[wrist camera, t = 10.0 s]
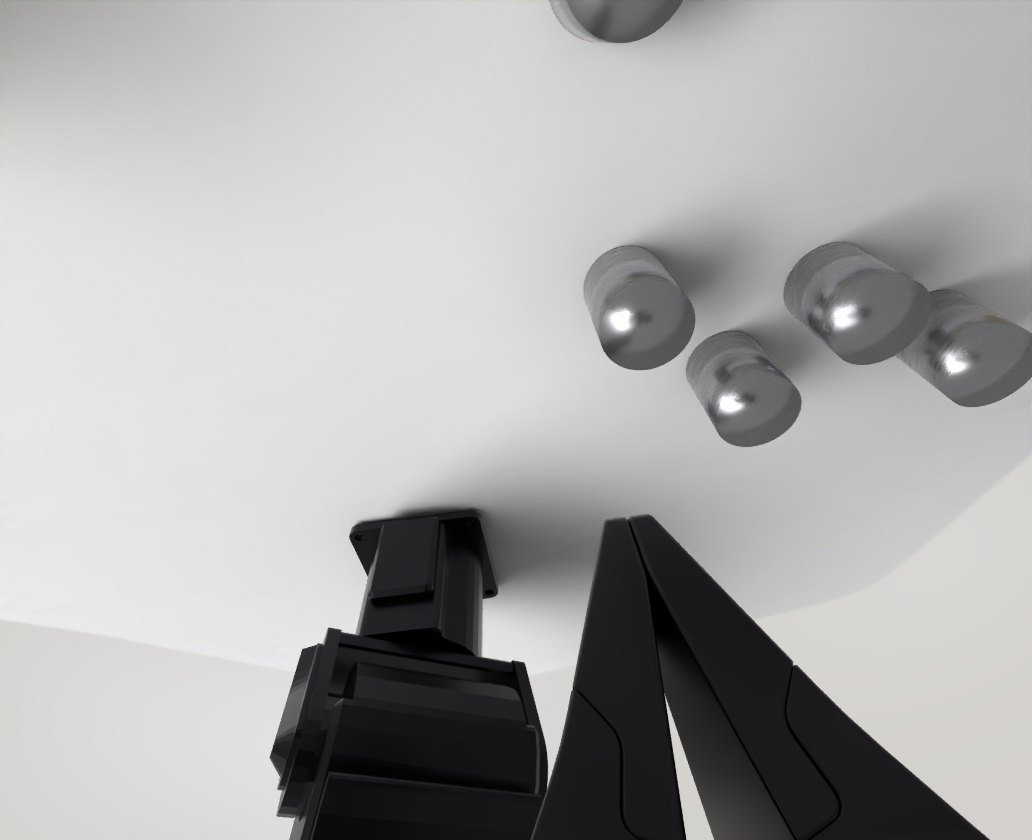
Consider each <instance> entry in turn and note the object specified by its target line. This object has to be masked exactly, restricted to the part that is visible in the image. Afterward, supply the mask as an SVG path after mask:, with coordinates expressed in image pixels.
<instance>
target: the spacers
mask: <svg viewBox="0 0 1032 840" xmlns="http://www.w3.org/2000/svg"><path fill="white" fill-rule="evenodd" d="M682 1H683V0H549V2H550V5H551V7H552V10H553V12H554V14H555V16H556V17H557V19H558V20H559V22H560V23H561V24H562V25H563V27H564V28H565V29H566V30H568V31H569V32H570V33H571V34H573V35H575V36H576V37H578V38H581V39H583V40H587V41H596V42H613V43H627V42H633V41H637V40H640V39H642V38H645V37H647V36H649V35H650V34H652V33H654V32H655V31H656V30H658V29H659V28H660V27H662V26H663V25H664V24H665V23H666V22H667V21H668V20H669V19H670V18H671V17H672V15H673V14H674V13H675V12H676V10H677V9H678V7H679V6H680V4H681V3H682ZM584 298H585V302H586V304H587V307H588V310H589V313H590V315H591V318H592V321H593V323H594V326H595V329H596V332H597V334H598V337H599V340H600V342H601V345H602V348H603V350H604V352H605V353H606V355H607V356H608V357H609V358H610V359H611V360H612V361H613V362H614V363H616V364H617V365H619V366H622V367H624V368H627V369H632V370H647V369H653V368H656V367H659V366H661V365H664V364H666V363H667V362H669V361H671V360H672V359H674V358H675V357H676V356H677V355H678V354H680V352H681V351H682V350H683V349H684V348H685V347H686V345H687V344H688V342H689V340H690V338H691V336H692V334H693V330H694V326H695V314H694V309H693V306H692V304H691V302H690V300H689V299H688V298H687V296H686V295H685V294H684V292H683V291H682V290H681V288H680V287H679V286H678V284H677V283H676V282H675V281H674V279H673V278H672V277H671V275H670V274H669V273H668V271H667V270H666V269H665V267H664V266H663V265H662V264H661V262H660V261H659V260H658V258H657V257H656V256H655V255H654V254H653V253H651V252H650V251H648V250H646V249H644V248H641V247H637V246H622V247H618V248H615V249H612V250H610V251H608V252H606V253H605V254H603V255H602V256H601V257H599V258H598V259H597V260H596V261H595V262H594V264H593V265H592V266H591V268H590V269H589V271H588V273H587V275H586V278H585V282H584ZM784 301H785V304H786V307H787V308H788V310H789V311H790V312H791V313H792V314H793V315H794V316H795V317H796V318H797V319H799V320H800V321H801V322H802V323H803V324H804V325H805V326H806V327H807V328H808V329H809V330H811V331H812V332H813V333H814V334H815V335H816V336H817V337H818V338H819V339H820V340H822V341H823V342H824V343H825V344H826V345H827V346H828V347H829V348H830V349H831V350H832V351H834V352H835V353H836V354H837V355H838V356H839V357H840V358H841V359H843V360H844V361H846V362H849V363H852V364H857V365H866V364H873V363H877V362H881V361H883V360H886V359H888V358H890V357H892V356H894V355H895V356H896V357H897V358H899V359H900V360H901V361H903V362H904V363H905V364H906V365H908V366H909V367H910V368H911V369H913V370H914V371H915V372H916V373H918V374H919V375H920V376H922V377H923V378H924V379H925V380H927V381H928V382H929V383H930V384H932V385H933V386H934V387H936V388H937V389H938V390H939V391H941V392H942V393H943V394H944V395H946V396H947V397H948V398H950V399H951V400H952V401H953V402H955V403H956V404H958V405H961V406H965V407H978V406H984V405H988V404H991V403H994V402H997V401H999V400H1001V399H1003V398H1005V397H1007V396H1009V395H1010V394H1012V393H1014V392H1015V391H1016V390H1018V389H1019V388H1020V387H1022V386H1023V385H1024V384H1025V383H1026V382H1027V381H1028V380H1029V379H1030V378H1031V377H1032V333H1030V332H1029V331H1027V330H1025V329H1023V328H1021V327H1019V326H1018V325H1016V324H1014V323H1012V322H1010V321H1008V320H1007V319H1005V318H1003V317H1001V316H999V315H997V314H996V313H994V312H992V311H990V310H988V309H987V308H985V307H983V306H981V305H979V304H977V303H976V302H974V301H972V300H970V299H968V298H966V297H965V296H963V295H961V294H959V293H957V292H955V291H950V290H940V291H934V292H931V293H929V292H928V291H927V289H926V288H925V287H924V286H923V285H922V284H920V283H918V282H917V281H915V280H913V279H912V278H910V277H908V276H906V275H905V274H903V273H901V272H899V271H898V270H896V269H894V268H892V267H891V266H889V265H887V264H885V263H884V262H882V261H880V260H878V259H877V258H875V257H873V256H871V255H870V254H868V253H866V252H864V251H863V250H861V249H859V248H857V247H856V246H854V245H852V244H849V243H842V242H838V243H830V244H826V245H823V246H821V247H819V248H816V249H815V250H813V251H811V252H810V253H808V254H807V255H806V256H804V257H803V258H802V259H801V260H800V261H799V262H798V263H797V264H796V265H795V267H794V268H793V269H792V271H791V272H790V274H789V276H788V278H787V281H786V283H785V287H784ZM686 376H687V379H688V382H689V383H690V385H691V387H692V389H693V390H694V392H695V394H696V396H697V397H698V399H699V401H700V402H701V404H702V406H703V408H704V409H705V411H706V413H707V415H708V416H709V418H710V420H711V421H712V423H713V425H714V427H715V428H716V430H717V432H718V434H719V435H720V436H721V438H722V439H723V440H725V441H726V442H728V443H730V444H732V445H736V446H741V447H751V446H757V445H761V444H765V443H767V442H770V441H772V440H774V439H776V438H777V437H779V436H780V435H782V434H783V433H784V432H786V431H787V430H788V429H789V428H790V427H791V426H792V424H793V423H794V422H795V420H796V419H797V417H798V415H799V412H800V409H801V396H800V393H799V391H798V390H797V388H796V387H795V386H794V385H793V384H792V382H791V381H790V380H789V379H788V378H787V377H786V376H785V374H784V373H783V372H782V371H781V370H780V369H779V368H778V366H777V365H776V364H775V363H774V362H773V361H772V360H771V358H770V357H769V356H768V355H767V354H766V353H765V352H764V350H763V349H762V348H761V347H760V346H759V345H758V344H757V342H756V341H755V340H754V339H753V338H752V337H750V336H749V335H747V334H744V333H741V332H732V331H731V332H723V333H719V334H716V335H714V336H712V337H710V338H708V339H706V340H705V341H703V342H702V343H701V344H700V345H699V346H698V347H697V348H696V349H695V350H694V351H693V353H692V354H691V356H690V358H689V360H688V363H687V367H686Z"/></svg>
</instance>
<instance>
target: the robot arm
mask: <svg viewBox="0 0 1032 840" xmlns="http://www.w3.org/2000/svg"><path fill="white" fill-rule="evenodd" d="M468 520H473V521H468ZM359 534H361V535H359ZM349 537H350V540H351V543H352V545H353V547H354V549H355V551H356V553H357V555H358V557H359V559H360V561H361V563H362V565H363V568H364V570H365V572H366V574H367V576H368V580H367V585H366V589H365V594H364V599H363V603H362V608H361V612H360V617H359V621H358V626H357V630H356V635H355V634H349V633H343V632H341V630H340V629H334V628H329V627H328V630H327V633H326V636H325V639H324V642H323V644H319V643H318V644H317V645H315V646H312V647H308V648H305V649H302V652H301V655H300V659H299V662H298V665H297V669H296V672H295V675H294V678H293V682H292V685H291V688H290V692H289V695H288V698H287V702H286V705H285V708H284V712H283V715H282V718H281V722H280V725H279V729H278V732H277V735H276V739H275V742H274V745H273V749H272V752H271V756H270V759H271V761H272V763H273V765H274V767H275V769H276V771H277V772H278V774H279V776H280V780H279V784H278V788H277V789H278V790H282V793H281V797H280V802H279V806H278V811H277V816H278V817H289V818H294V817H295V820H294V824H293V828H292V832H291V836H290V839H289V840H686V834H685V828H684V821H683V814H682V808H681V801H680V794H679V788H678V781H677V774H676V768H675V761H674V754H673V748H672V741H671V735H670V728H669V721H668V714H667V708H666V701H665V696H666V699H667V702H668V705H669V707H670V711H671V713H672V717H673V719H674V722H675V725H676V728H677V731H678V734H679V737H680V740H681V743H682V746H683V749H684V752H685V755H686V758H687V761H688V764H689V767H690V770H691V773H692V776H693V778H694V781H695V784H696V787H697V790H698V793H699V796H700V799H701V802H702V805H703V808H704V811H705V814H706V817H707V820H708V823H709V826H710V829H711V832H712V835H713V837H714V840H990V839H988V838H987V837H986V836H985V835H984V834H982V833H981V832H980V831H979V830H978V829H976V828H975V827H974V826H973V825H972V824H971V823H970V822H968V821H967V820H966V819H965V818H964V817H963V816H961V815H960V814H959V813H958V812H957V811H956V810H954V809H953V808H952V807H951V806H950V805H949V804H948V803H946V802H945V801H944V800H943V799H942V798H941V797H939V796H938V795H937V794H936V793H935V792H934V791H933V790H931V789H930V788H929V787H928V786H927V785H926V784H925V783H923V782H922V781H921V780H920V779H919V778H918V777H916V776H915V775H914V774H913V773H912V772H911V771H909V770H908V769H907V768H906V767H905V766H904V765H903V764H901V763H900V762H899V761H898V760H897V759H896V758H894V757H893V756H892V755H891V754H890V753H888V752H887V751H886V750H885V749H884V748H883V747H881V745H879V744H878V743H877V742H876V741H875V740H874V739H873V738H872V737H870V735H868V734H867V733H866V732H865V731H864V730H863V729H862V728H861V727H860V726H858V725H857V724H856V723H855V722H854V721H853V720H852V719H851V718H849V717H848V716H847V715H846V714H845V713H844V712H843V711H842V710H841V709H840V708H839V707H838V706H837V705H836V704H835V703H834V702H833V701H832V700H831V699H830V698H829V697H828V696H827V695H826V694H825V693H824V692H823V691H822V690H821V689H820V688H819V687H818V686H817V685H816V684H815V683H814V682H813V681H812V680H811V679H810V678H809V677H808V676H807V675H806V674H805V673H804V672H803V671H802V670H801V669H800V668H799V667H798V666H797V665H794V666H793V661H792V660H791V659H790V658H789V657H788V656H787V655H786V653H784V652H783V651H782V650H781V648H780V647H779V646H778V645H777V644H776V643H775V642H774V641H773V640H772V639H771V638H770V637H769V636H768V635H767V634H766V633H765V632H764V631H763V630H762V629H761V628H760V627H759V626H758V625H757V624H756V623H755V622H754V620H753V619H752V618H751V617H750V616H749V615H748V614H747V613H746V612H745V611H744V610H743V609H742V608H741V607H740V606H739V605H738V604H737V603H736V602H735V601H734V600H733V599H732V598H731V597H730V596H729V595H728V594H727V593H726V592H725V591H724V590H723V589H722V588H721V586H720V585H719V584H718V583H717V582H716V581H715V580H714V579H713V578H712V577H711V576H710V575H709V574H708V573H707V572H706V571H705V570H704V569H703V568H702V567H701V566H700V565H699V564H698V563H697V562H696V561H695V560H694V559H693V558H692V557H691V556H690V555H689V554H688V552H687V551H686V550H685V549H684V548H683V547H682V546H681V545H680V544H679V543H678V542H677V541H676V540H675V539H674V538H673V537H672V536H671V535H670V534H669V533H668V532H667V531H666V530H665V529H664V528H663V527H662V526H661V525H660V524H659V523H658V522H657V521H656V520H655V518H653V517H652V516H651V515H649V514H645V515H637V516H631V517H629V518H628V520H627V519H626V518H624V517H621V518H613V519H607V520H605V521H604V524H603V529H602V534H601V540H600V545H599V550H598V555H597V561H596V566H595V571H594V576H593V582H592V587H591V592H590V597H589V603H588V608H587V613H586V618H585V624H584V629H583V634H582V640H581V645H580V650H579V655H578V661H577V666H576V671H575V676H574V682H573V690H572V691H571V696H570V702H569V707H568V712H567V717H566V721H565V726H564V730H563V735H562V739H561V743H560V747H559V751H558V754H557V758H556V761H555V764H554V768H553V771H552V775H551V778H550V782H549V785H548V788H547V781H548V760H547V750H546V744H545V740H544V736H543V732H542V728H541V724H540V720H539V716H538V713H537V709H536V705H535V701H534V697H533V694H532V689H531V685H530V682H529V678H528V674H527V670H526V666H525V663H524V662H519V661H514V660H512V661H511V662H507V661H501V660H496V659H490V658H484V657H482V614H483V599H485V598H492V597H495V596H496V595H497V594H498V584H497V580H496V576H495V572H494V568H493V564H492V560H491V556H490V552H489V548H488V544H487V540H486V536H485V532H484V528H483V524H482V520H481V516H480V514H479V513H477V512H476V511H461V512H454V513H446V514H438V515H430V516H422V517H414V518H407V519H399V520H391V521H383V522H375V523H368V524H360V525H355V526H354V527H352V529H351V532H350V536H349ZM664 693H665V695H664Z"/></svg>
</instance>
